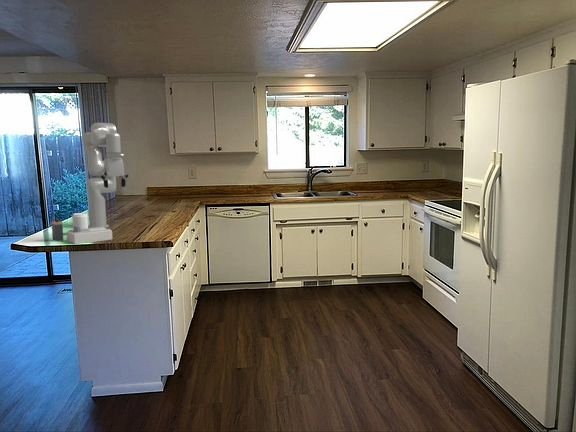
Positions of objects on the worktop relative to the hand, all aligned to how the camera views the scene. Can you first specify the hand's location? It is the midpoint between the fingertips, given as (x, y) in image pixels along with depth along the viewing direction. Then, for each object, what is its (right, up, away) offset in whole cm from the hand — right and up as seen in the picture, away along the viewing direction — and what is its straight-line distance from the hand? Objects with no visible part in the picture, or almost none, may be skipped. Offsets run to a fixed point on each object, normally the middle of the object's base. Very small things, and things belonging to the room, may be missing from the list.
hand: (114, 187), depth 251 cm
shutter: (-16, -25, -5) cm, 30 cm away
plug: (-30, -29, -3) cm, 42 cm away
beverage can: (-26, -27, +16) cm, 41 cm away
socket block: (-13, -29, -1) cm, 32 cm away
